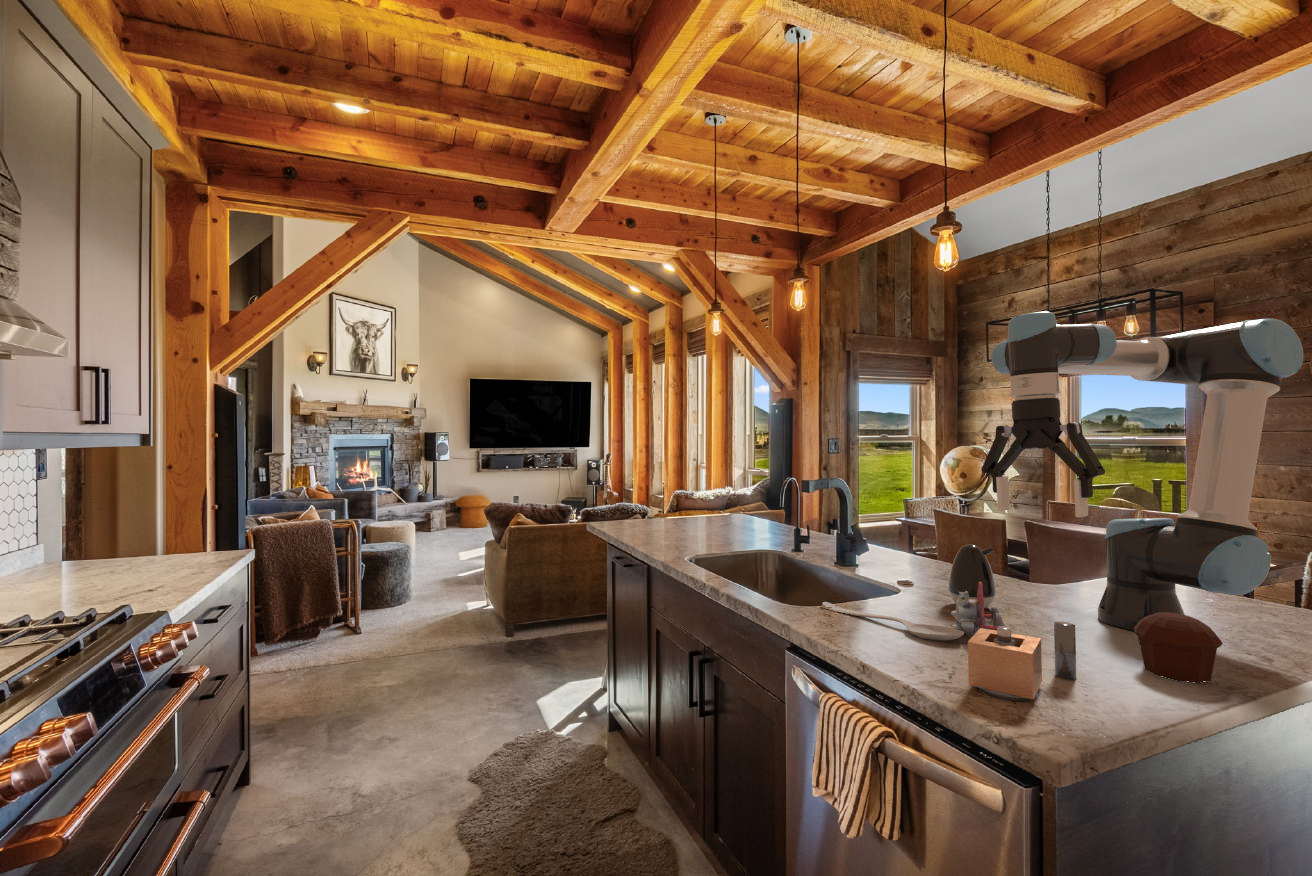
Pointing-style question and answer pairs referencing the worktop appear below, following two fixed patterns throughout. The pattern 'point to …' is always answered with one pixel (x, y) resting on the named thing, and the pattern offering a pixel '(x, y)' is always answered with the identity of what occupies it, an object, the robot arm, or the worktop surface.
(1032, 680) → the collar
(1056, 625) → the stand rod
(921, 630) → the spoon
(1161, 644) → the muffin
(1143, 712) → the worktop surface
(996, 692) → the cylinder
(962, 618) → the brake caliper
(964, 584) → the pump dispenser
